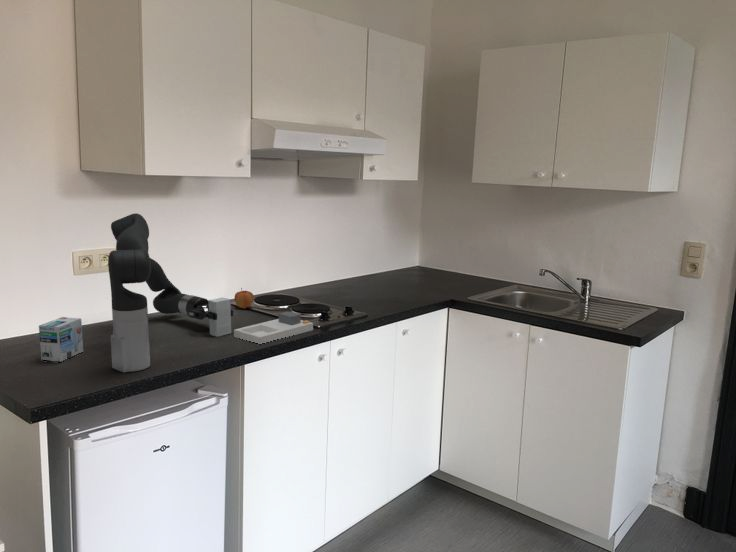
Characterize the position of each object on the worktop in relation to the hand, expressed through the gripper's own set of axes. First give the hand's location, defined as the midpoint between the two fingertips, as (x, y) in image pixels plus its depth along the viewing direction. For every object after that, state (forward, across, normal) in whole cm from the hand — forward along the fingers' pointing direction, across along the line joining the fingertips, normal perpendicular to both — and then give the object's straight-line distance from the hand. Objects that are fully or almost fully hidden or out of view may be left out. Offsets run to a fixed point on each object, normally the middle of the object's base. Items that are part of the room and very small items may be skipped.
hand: (224, 315), depth 206 cm
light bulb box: (-16, -46, +7) cm, 49 cm away
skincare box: (-2, 0, +7) cm, 8 cm away
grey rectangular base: (+10, +13, +7) cm, 18 cm away
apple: (-25, +29, +7) cm, 39 cm away
